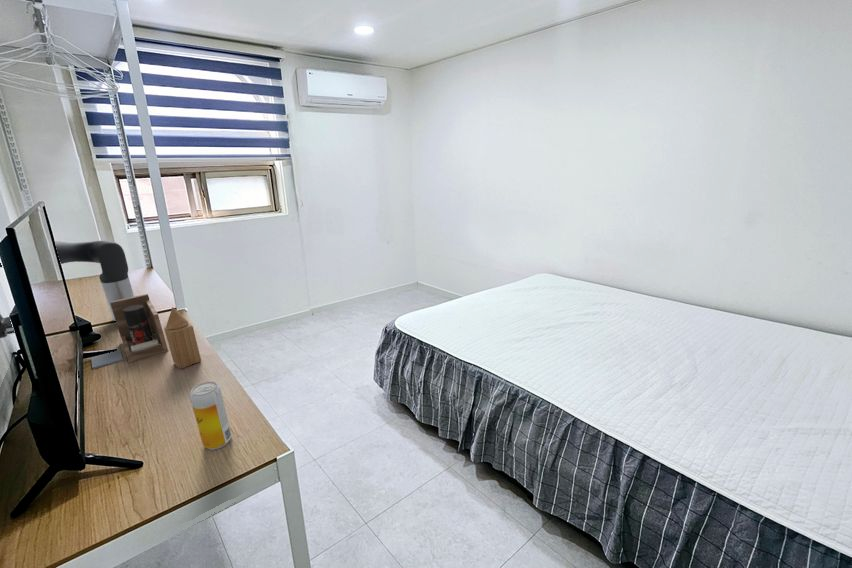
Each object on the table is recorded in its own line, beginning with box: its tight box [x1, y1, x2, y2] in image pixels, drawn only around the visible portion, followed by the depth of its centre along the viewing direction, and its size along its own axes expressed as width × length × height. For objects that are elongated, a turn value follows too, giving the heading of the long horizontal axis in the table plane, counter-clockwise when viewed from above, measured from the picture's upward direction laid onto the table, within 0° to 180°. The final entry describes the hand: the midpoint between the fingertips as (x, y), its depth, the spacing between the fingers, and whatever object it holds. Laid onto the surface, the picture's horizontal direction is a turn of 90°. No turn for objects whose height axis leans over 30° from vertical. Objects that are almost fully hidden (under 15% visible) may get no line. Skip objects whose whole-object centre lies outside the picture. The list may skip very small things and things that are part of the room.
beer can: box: [189, 380, 232, 451], centre depth 90 cm, size 6×6×15 cm
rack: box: [110, 293, 169, 363], centre depth 139 cm, size 20×11×16 cm, turn 41°
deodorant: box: [123, 305, 154, 345], centre depth 139 cm, size 6×6×15 cm
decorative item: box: [164, 306, 202, 370], centre depth 126 cm, size 7×7×20 cm
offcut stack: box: [130, 338, 160, 353], centre depth 137 cm, size 4×8×3 cm, turn 131°
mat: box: [90, 349, 124, 370], centre depth 133 cm, size 9×8×1 cm
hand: (54, 313), depth 123 cm, fingers open, 8 cm apart
